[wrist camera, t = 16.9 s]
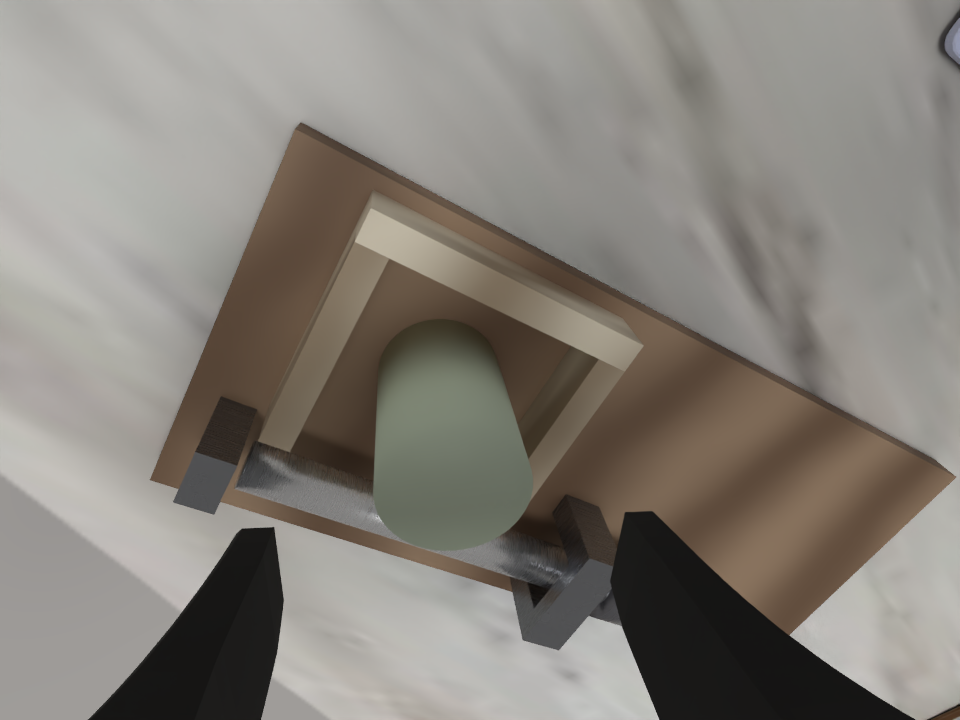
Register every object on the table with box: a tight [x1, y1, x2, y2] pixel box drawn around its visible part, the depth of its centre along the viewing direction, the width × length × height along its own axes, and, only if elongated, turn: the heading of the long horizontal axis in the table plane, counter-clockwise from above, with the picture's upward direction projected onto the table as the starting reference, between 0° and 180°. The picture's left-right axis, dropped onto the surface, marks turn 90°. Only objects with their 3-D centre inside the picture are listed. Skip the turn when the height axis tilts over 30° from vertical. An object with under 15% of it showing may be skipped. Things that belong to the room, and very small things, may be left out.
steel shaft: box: [234, 440, 622, 626], centre depth 22 cm, size 16×3×3 cm, turn 60°
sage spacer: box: [373, 319, 533, 551], centre depth 18 cm, size 4×4×6 cm
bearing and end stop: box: [173, 396, 617, 650], centre depth 21 cm, size 14×4×3 cm, turn 60°
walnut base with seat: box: [150, 123, 956, 635], centre depth 23 cm, size 29×13×3 cm, turn 60°
